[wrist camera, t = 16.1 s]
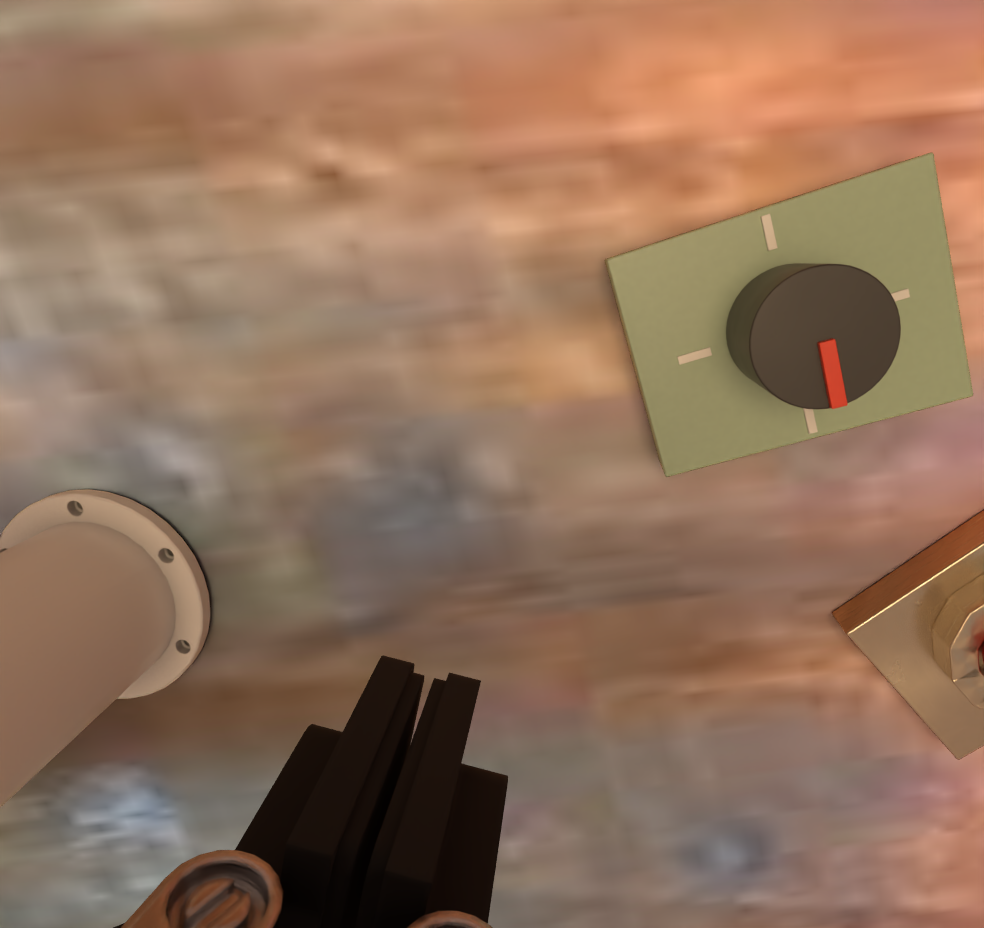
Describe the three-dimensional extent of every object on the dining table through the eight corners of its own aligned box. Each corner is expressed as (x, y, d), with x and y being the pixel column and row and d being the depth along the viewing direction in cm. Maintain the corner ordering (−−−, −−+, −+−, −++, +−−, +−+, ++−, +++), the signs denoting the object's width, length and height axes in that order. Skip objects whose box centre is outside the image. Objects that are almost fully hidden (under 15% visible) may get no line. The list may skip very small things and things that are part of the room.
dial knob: (713, 284, 30) (737, 289, 25) (843, 246, 29) (892, 243, 24) (740, 403, 31) (767, 427, 27) (865, 369, 30) (916, 389, 26)
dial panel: (659, 460, 35) (666, 478, 32) (604, 259, 33) (606, 259, 30) (940, 384, 33) (976, 396, 30) (901, 161, 31) (936, 150, 28)
